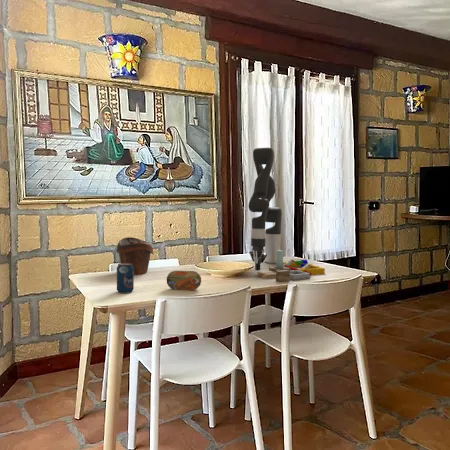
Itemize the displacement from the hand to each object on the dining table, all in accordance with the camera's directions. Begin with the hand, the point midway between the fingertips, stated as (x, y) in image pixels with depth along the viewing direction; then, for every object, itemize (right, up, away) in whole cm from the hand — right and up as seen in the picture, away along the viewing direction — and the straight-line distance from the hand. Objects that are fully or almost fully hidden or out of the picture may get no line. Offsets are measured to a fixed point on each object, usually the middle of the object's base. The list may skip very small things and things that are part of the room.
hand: (257, 270), depth 237 cm
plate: (+5, -3, -7) cm, 9 cm away
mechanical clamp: (+27, -2, +11) cm, 29 cm away
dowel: (+12, -2, +2) cm, 12 cm away
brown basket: (-64, -1, 0) cm, 64 cm away
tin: (-35, -5, -39) cm, 52 cm away
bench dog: (+11, -3, -18) cm, 21 cm away
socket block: (+12, -2, +2) cm, 12 cm away
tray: (+18, -3, -9) cm, 20 cm away
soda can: (-59, -5, -45) cm, 74 cm away
